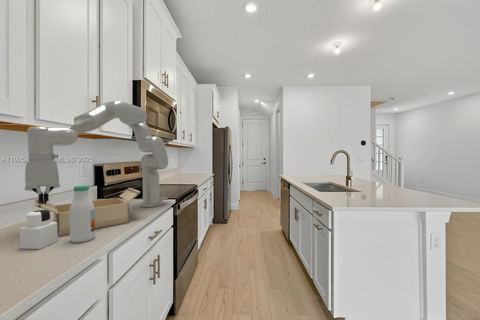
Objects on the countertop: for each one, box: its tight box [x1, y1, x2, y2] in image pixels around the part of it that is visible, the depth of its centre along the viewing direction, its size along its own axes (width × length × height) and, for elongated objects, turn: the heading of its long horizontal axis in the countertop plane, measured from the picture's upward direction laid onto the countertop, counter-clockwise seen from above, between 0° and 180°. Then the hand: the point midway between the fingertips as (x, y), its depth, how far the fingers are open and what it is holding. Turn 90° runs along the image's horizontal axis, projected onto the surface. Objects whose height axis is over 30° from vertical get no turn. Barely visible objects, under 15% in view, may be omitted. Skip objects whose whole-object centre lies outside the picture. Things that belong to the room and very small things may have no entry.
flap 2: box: [118, 187, 141, 203], centre depth 112 cm, size 1×17×6 cm
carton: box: [53, 197, 130, 237], centre depth 102 cm, size 26×20×9 cm
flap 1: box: [34, 198, 55, 214], centre depth 91 cm, size 1×17×6 cm
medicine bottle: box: [19, 209, 59, 250], centre depth 79 cm, size 7×7×12 cm
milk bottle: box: [69, 184, 96, 244], centre depth 84 cm, size 8×8×20 cm
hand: (43, 203), depth 91 cm, fingers closed
